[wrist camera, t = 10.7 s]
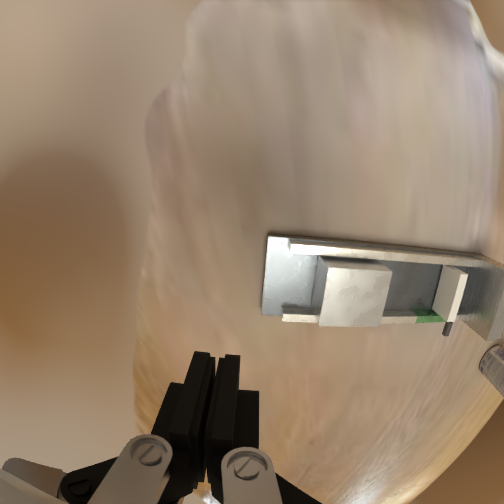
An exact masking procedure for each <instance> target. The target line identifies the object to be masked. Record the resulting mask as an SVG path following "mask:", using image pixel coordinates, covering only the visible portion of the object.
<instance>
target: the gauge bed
mask: <svg viewBox="0 0 504 504" xmlns="http://www.w3.org/2000/svg"><path fill="white" fill-rule="evenodd" d="M319 255H326V256H339V257H352V258H365V259H377V260H378V261H379V262H380V263H382V264H383V265H384V266H386V267H387V268H388V269H390V270H391V271H392V276H391V281H390V285H389V290H388V294H387V298H386V303H385V307H384V311H383V315H382V318H381V322H380V324H386V323H427V322H446V321H445V320H444V319H443V318H442V317H441V316H439V315H438V314H437V313H436V312H435V311H434V310H433V309H432V307H433V303H434V299H435V296H436V292H437V288H438V284H439V280H440V276H441V272H442V268H443V265H452V266H454V267H455V268H457V269H459V270H461V271H463V272H464V273H466V274H468V277H467V281H466V285H465V289H464V292H463V296H462V299H461V303H460V306H459V309H458V312H457V316H456V319H455V321H463V322H464V323H466V324H467V325H468V326H469V327H470V328H471V329H473V330H474V331H475V332H476V333H477V334H479V335H480V336H481V337H482V338H483V339H484V340H485V341H490V340H496V339H501V337H502V334H503V331H504V264H502V263H500V262H498V261H495V260H493V259H491V258H489V257H487V256H484V255H482V254H476V253H467V252H458V251H450V250H441V249H431V248H422V247H413V246H403V245H393V244H383V243H373V242H362V241H352V240H341V239H329V238H318V237H306V236H294V235H282V234H269V233H268V236H267V248H266V259H265V270H264V281H263V292H262V303H261V315H273V316H282V321H289V322H312V323H317V321H316V318H315V316H314V313H313V310H312V308H311V304H312V298H313V291H314V285H315V278H316V271H317V264H318V257H319Z"/></svg>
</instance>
